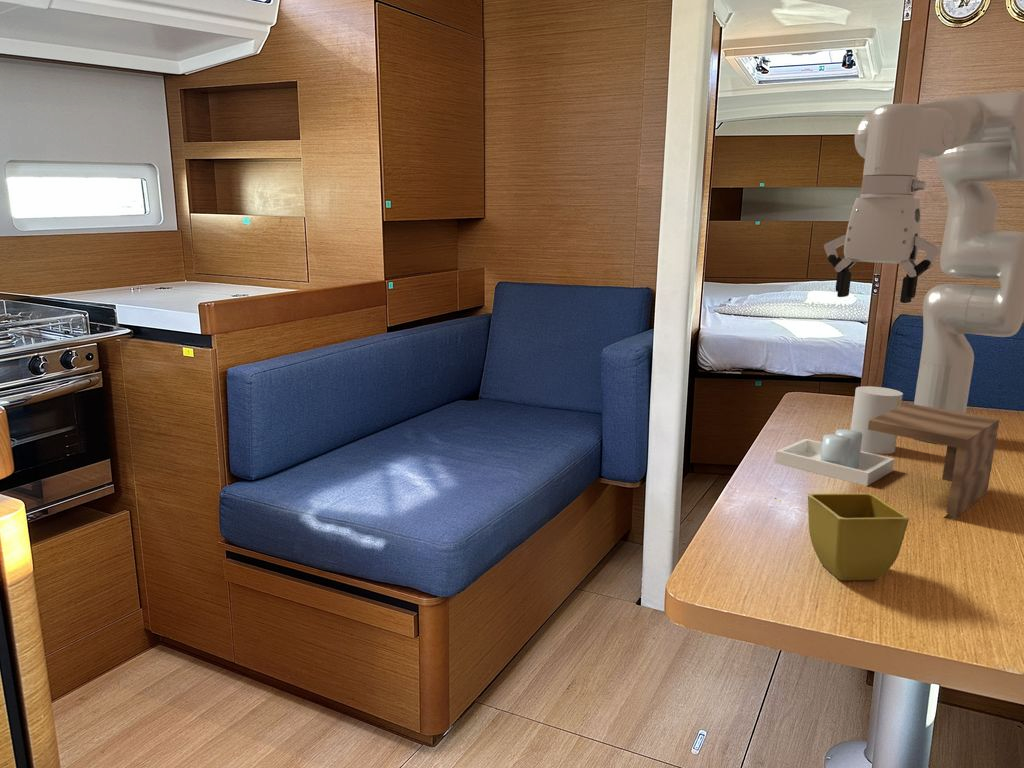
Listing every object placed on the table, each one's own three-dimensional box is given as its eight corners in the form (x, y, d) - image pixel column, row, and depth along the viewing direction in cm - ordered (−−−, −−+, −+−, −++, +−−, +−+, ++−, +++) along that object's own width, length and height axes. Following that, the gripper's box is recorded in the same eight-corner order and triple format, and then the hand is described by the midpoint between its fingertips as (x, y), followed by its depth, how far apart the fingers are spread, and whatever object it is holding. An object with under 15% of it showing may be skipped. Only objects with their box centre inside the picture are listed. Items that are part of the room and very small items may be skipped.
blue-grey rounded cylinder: (825, 465, 136) (829, 432, 135) (850, 471, 133) (854, 438, 132) (815, 470, 133) (819, 437, 132) (840, 477, 130) (844, 443, 129)
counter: (898, 471, 137) (907, 403, 134) (987, 492, 127) (999, 419, 125) (859, 494, 124) (869, 420, 121) (954, 520, 115) (967, 439, 112)
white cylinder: (899, 459, 144) (908, 397, 141) (853, 455, 145) (861, 394, 143) (887, 447, 152) (896, 388, 149) (844, 443, 153) (851, 385, 151)
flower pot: (798, 557, 100) (806, 492, 98) (862, 556, 101) (871, 492, 99) (831, 589, 92) (840, 518, 90) (901, 588, 92) (911, 518, 91)
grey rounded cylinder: (837, 459, 140) (841, 427, 139) (862, 465, 137) (866, 433, 136) (827, 464, 137) (831, 432, 136) (852, 470, 134) (856, 437, 133)
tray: (803, 453, 146) (805, 438, 145) (892, 474, 135) (894, 458, 134) (774, 466, 137) (776, 450, 137) (866, 490, 126) (868, 473, 126)
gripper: (956, 190, 116) (939, 303, 119) (840, 190, 127) (828, 293, 131) (941, 187, 110) (924, 306, 114) (822, 188, 122) (810, 295, 126)
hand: (873, 299), depth 122 cm, fingers open, 9 cm apart
